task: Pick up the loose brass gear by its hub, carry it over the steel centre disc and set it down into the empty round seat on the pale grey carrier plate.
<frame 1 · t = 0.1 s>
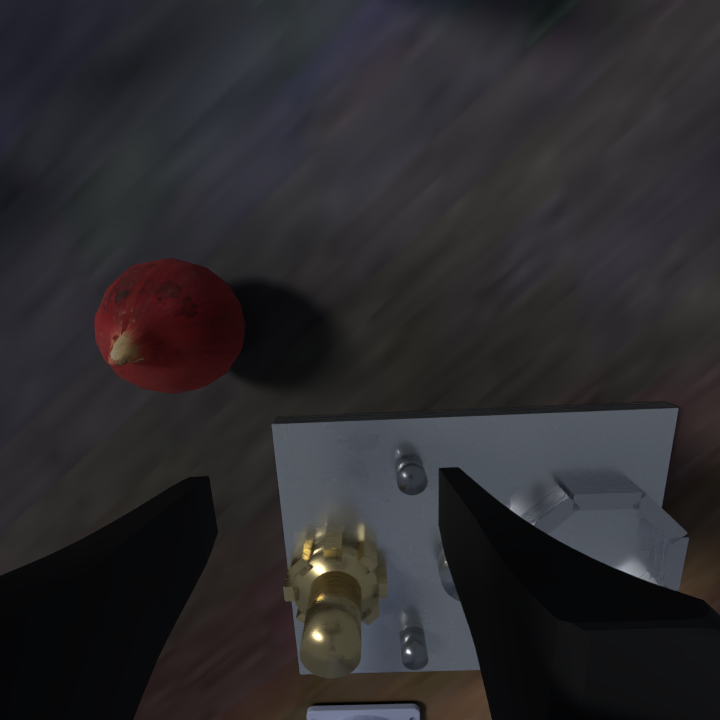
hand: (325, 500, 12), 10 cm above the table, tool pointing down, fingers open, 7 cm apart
carrier plate: (464, 543, 24), on the table
gear: (337, 573, 23), point 1 cm above the table, touching carrier plate
onion: (210, 315, 21), on the table
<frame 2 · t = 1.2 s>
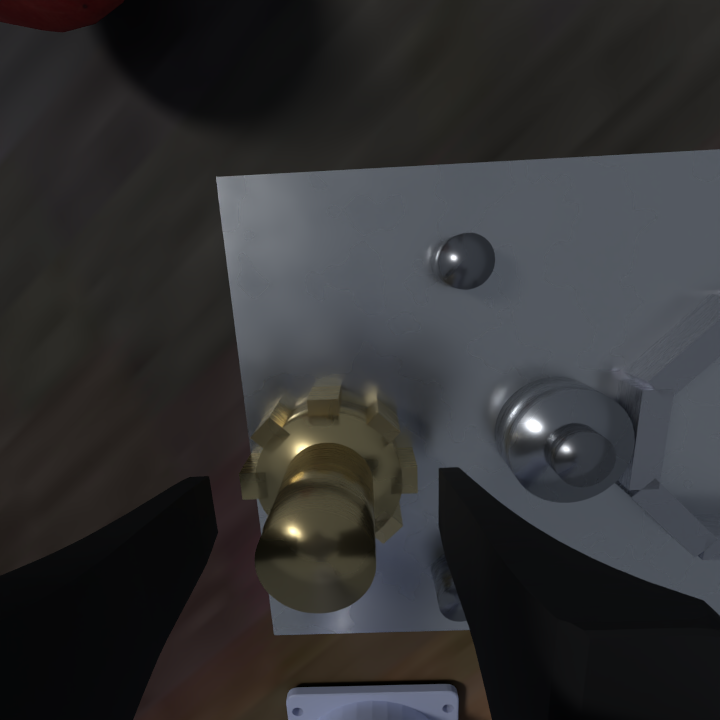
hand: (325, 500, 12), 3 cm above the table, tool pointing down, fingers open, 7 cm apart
carrier plate: (537, 418, 15), on the table
gear: (332, 462, 14), point 1 cm above the table, touching carrier plate
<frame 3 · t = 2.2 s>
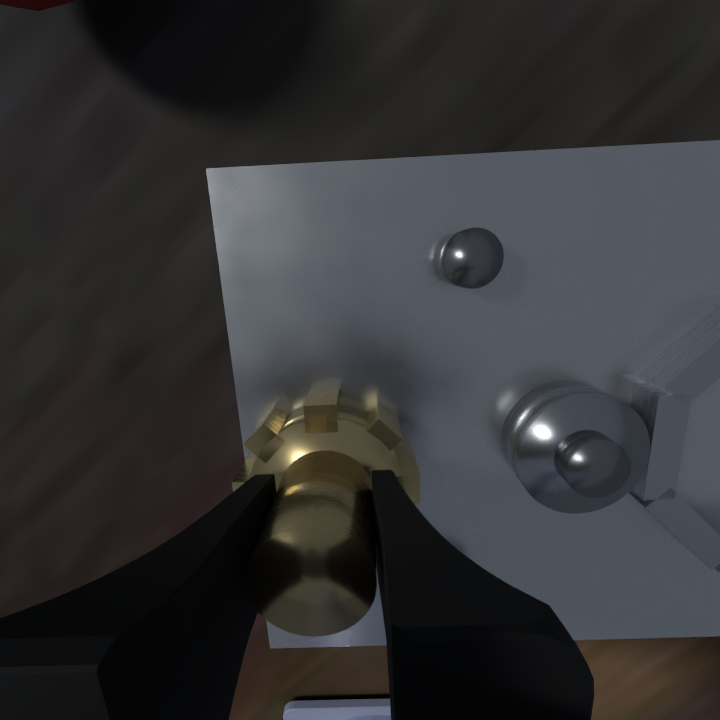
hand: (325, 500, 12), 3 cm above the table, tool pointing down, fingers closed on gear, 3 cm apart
carrier plate: (545, 423, 14), on the table
gear: (330, 470, 14), point 1 cm above the table, touching carrier plate, gripper
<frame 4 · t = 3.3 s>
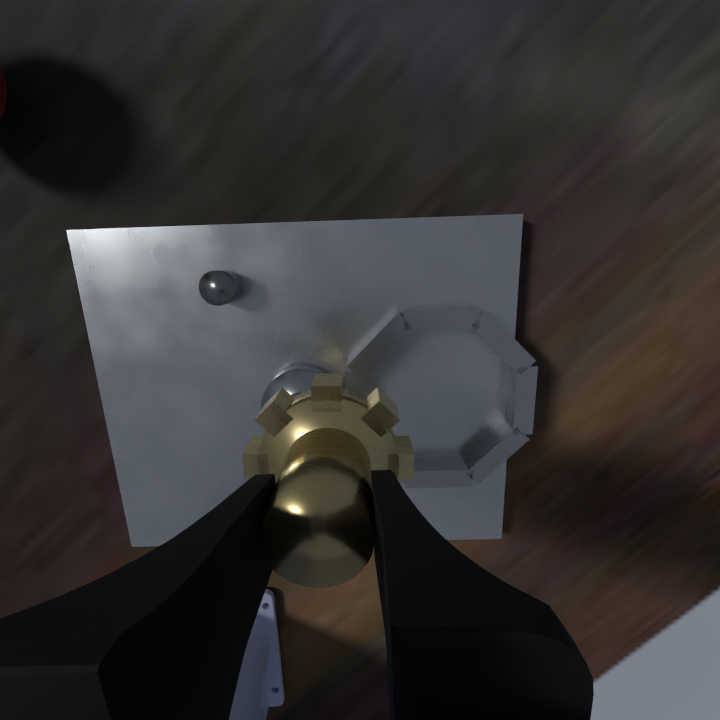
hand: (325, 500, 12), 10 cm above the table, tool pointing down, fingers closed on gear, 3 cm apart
carrier plate: (307, 393, 21), on the table
gear: (331, 447, 15), point 7 cm above the table, touching gripper
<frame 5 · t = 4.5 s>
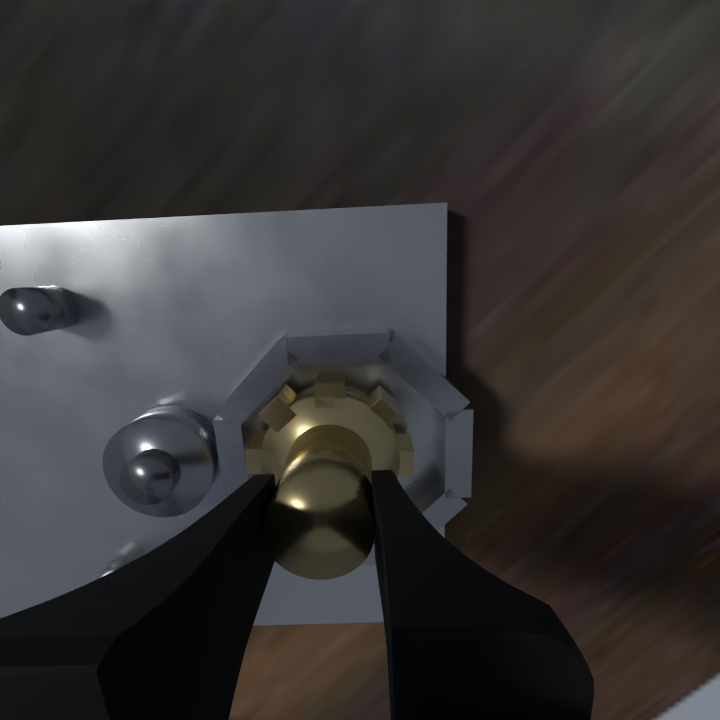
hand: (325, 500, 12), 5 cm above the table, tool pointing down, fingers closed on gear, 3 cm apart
carrier plate: (187, 440, 17), on the table
gear: (333, 444, 15), point 1 cm above the table, touching gripper
when the fingers open (4 cm above the table, at t = 4.9 s): gear stays where it is, resting on carrier plate.
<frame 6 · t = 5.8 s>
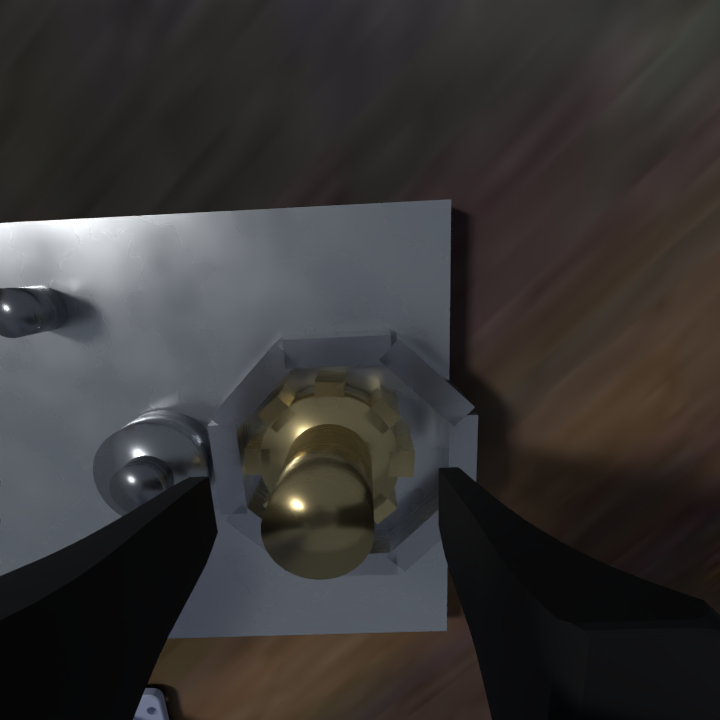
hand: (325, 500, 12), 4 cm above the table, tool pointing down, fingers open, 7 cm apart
carrier plate: (181, 445, 16), on the table
gear: (332, 444, 15), point 1 cm above the table, touching carrier plate
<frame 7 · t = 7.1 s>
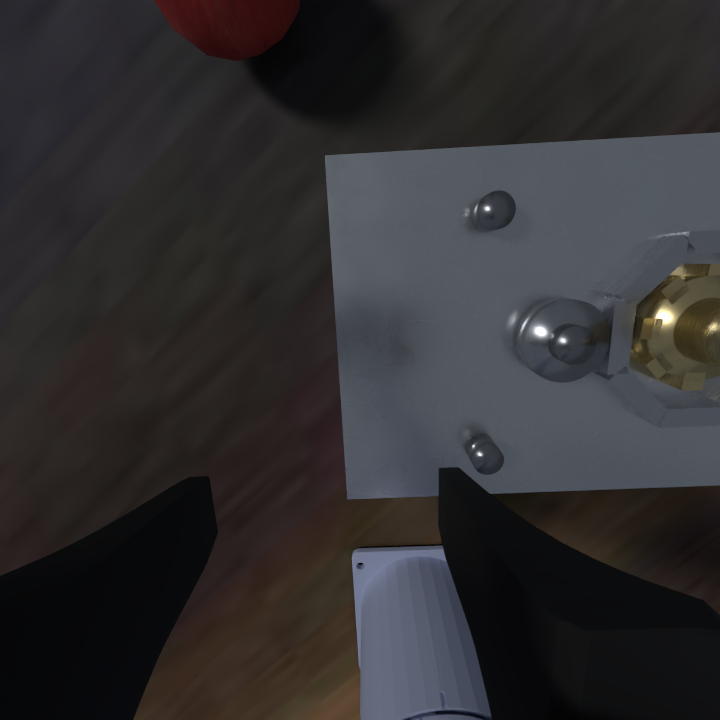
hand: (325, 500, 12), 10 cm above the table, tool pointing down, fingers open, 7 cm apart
carrier plate: (543, 333, 20), on the table
gear: (681, 325, 19), point 1 cm above the table, touching carrier plate
onion: (252, 21, 17), on the table
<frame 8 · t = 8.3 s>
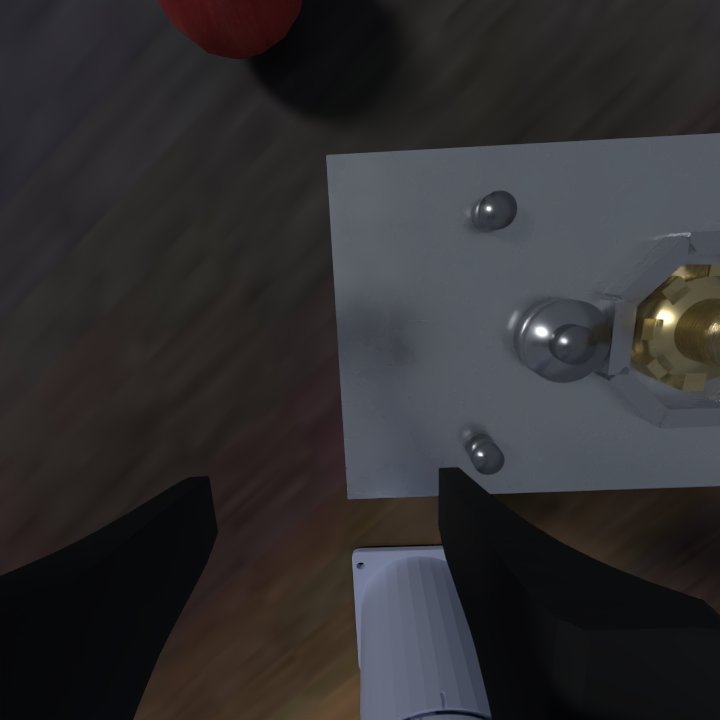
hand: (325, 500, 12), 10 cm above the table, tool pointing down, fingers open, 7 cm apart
carrier plate: (543, 333, 20), on the table
gear: (682, 325, 19), point 1 cm above the table, touching carrier plate
onion: (253, 21, 17), on the table
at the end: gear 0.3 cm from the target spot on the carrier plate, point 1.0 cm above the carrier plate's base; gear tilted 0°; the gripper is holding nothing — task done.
